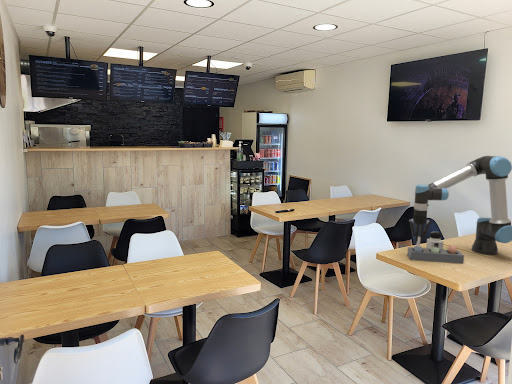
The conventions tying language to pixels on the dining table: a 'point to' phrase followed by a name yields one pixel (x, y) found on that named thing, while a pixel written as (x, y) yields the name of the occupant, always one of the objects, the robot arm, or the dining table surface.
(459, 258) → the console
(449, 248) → the terracotta button
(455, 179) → the robot arm
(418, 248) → the slate button
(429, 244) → the container
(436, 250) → the sage button
